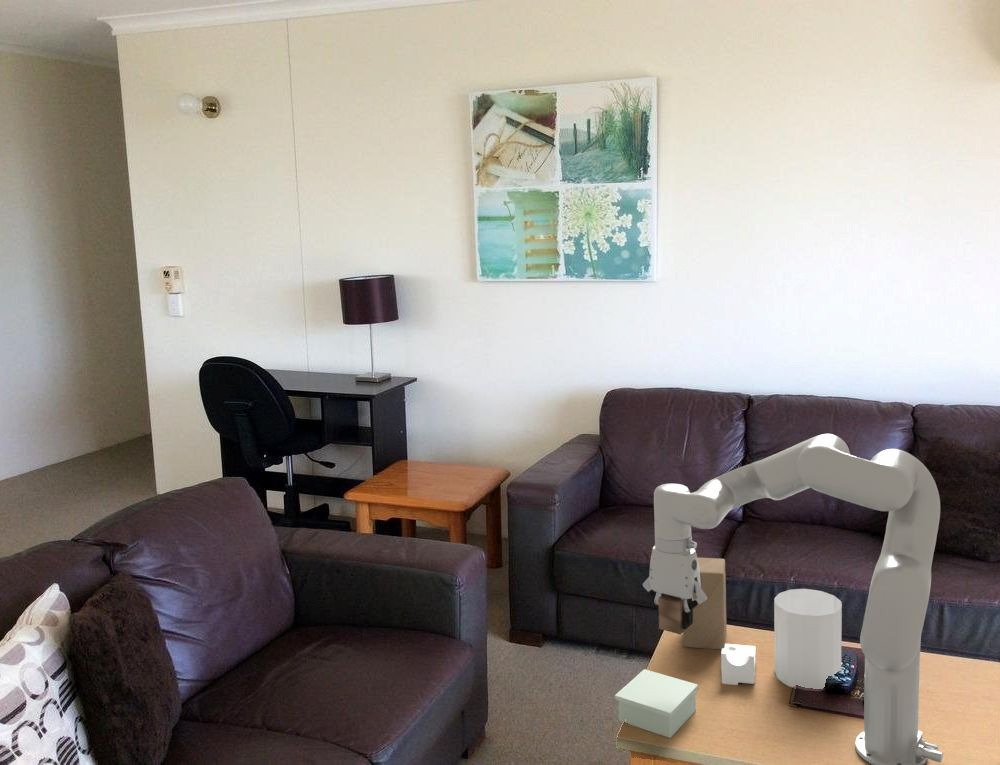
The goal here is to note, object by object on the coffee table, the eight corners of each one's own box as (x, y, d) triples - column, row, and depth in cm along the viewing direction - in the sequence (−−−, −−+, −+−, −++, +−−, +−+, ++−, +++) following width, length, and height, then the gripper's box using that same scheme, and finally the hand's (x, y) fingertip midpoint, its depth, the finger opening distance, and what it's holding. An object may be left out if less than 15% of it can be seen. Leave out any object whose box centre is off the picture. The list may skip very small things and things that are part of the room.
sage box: (698, 710, 187) (698, 684, 186) (671, 740, 177) (670, 713, 176) (645, 693, 195) (644, 669, 194) (615, 721, 185) (614, 695, 184)
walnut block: (691, 625, 186) (690, 594, 185) (680, 634, 182) (679, 603, 181) (670, 619, 189) (669, 589, 188) (659, 628, 185) (658, 597, 184)
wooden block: (683, 647, 215) (681, 571, 212) (686, 629, 225) (684, 556, 221) (724, 650, 212) (723, 573, 209) (726, 632, 222) (725, 558, 218)
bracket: (754, 687, 195) (753, 656, 194) (721, 684, 198) (721, 653, 196) (755, 659, 208) (755, 630, 206) (725, 657, 210) (724, 627, 208)
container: (797, 696, 190) (797, 620, 187) (762, 666, 204) (762, 594, 201) (855, 685, 194) (855, 609, 190) (817, 655, 207) (817, 584, 204)
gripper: (718, 544, 180) (719, 626, 183) (646, 530, 190) (648, 608, 194) (702, 556, 174) (703, 640, 177) (628, 541, 185) (631, 620, 188)
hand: (674, 622), depth 185 cm, fingers closed on walnut block, 5 cm apart
